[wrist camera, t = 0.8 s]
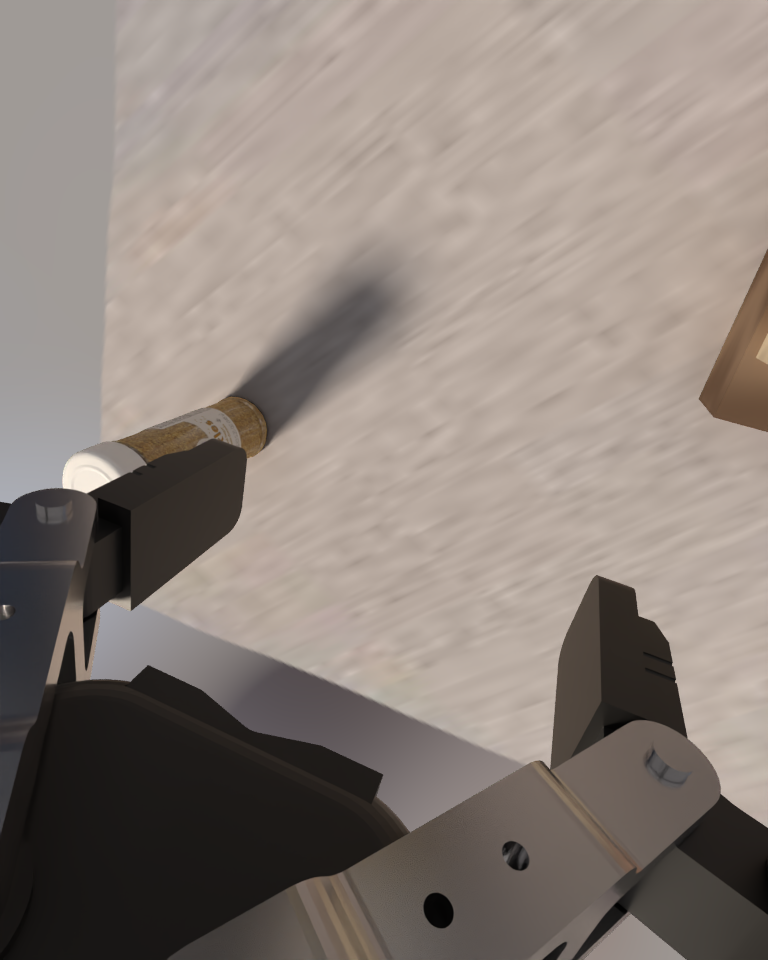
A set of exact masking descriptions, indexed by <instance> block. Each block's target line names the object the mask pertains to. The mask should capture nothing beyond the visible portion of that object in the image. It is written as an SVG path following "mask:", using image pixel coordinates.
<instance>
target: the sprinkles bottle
mask: <svg viewBox="0 0 768 960" xmlns="http://www.w3.org/2000/svg"><path fill="white" fill-rule="evenodd" d="M266 436H267V428H266V422H265V420H264V417H263V415H262V414H261V412H260V411H259V410H258V409H257V407H256V406H255V405H254V404H252V403H250V402H249V401H248V400H245V399H243V398H239V397H228V398H226V399H223V400H221V401H219V402H218V403H216V404H214V405H211V406H208V407H206V408H201V409H198V410H195V411H192V412H190V413H187V414H185V415H182V416H179V417H177V418H174V419H172V420H169V421H166V422H163V423H161V424H158V425H155V426H153V427H150V428H147V429H145V430H143V431H141V432H140V433H137V434H134V435H132V436H129V437H126V438H124V439H121V440H118V441H111V442H103V443H100V444H97V445H95V446H92V447H89V448H87V449H84V450H82V451H80V452H77V453H76V454H74V455H73V456H72V457H71V458H70V459H69V460H68V461H67V463H66V465H65V468H64V471H63V488H64V489H73V490H77V491H81V492H84V493H88V492H90V491H92V490H94V489H96V488H98V487H100V486H102V485H104V484H106V483H108V482H110V481H113V480H115V479H117V478H119V477H121V476H123V475H125V474H127V473H129V472H131V473H132V472H133V470H135V469H137V468H139V467H141V466H143V465H145V466H146V465H147V463H149V462H151V461H153V460H155V459H157V458H159V457H161V456H163V455H166V454H171V453H176V452H181V451H185V450H187V451H188V450H190V449H192V448H194V447H196V446H198V445H200V444H202V443H204V442H206V441H208V440H210V439H218V440H221V441H224V442H226V443H229V444H232V445H235V446H238V447H240V448H243V449H244V450H245V451H246V455H247V458H250V457H253V456H255V455H256V454H257V453H259V452H260V451H261V450H262V448H263V447H264V445H265V442H266Z"/></svg>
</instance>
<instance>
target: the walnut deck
mask: <svg viewBox="0 0 768 960" xmlns="http://www.w3.org/2000/svg"><path fill="white" fill-rule="evenodd" d="M767 334H768V250H767V252H766V254H765V256H764V258H763V261H762V263H761V265H760V267H759V269H758V271H757V274H756V276H755V278H754V280H753V282H752V284H751V287H750V289H749V291H748V293H747V295H746V297H745V300H744V302H743V304H742V306H741V308H740V311H739V313H738V315H737V317H736V319H735V321H734V324H733V326H732V328H731V330H730V332H729V334H728V337H727V339H726V341H725V343H724V345H723V347H722V350H721V352H720V354H719V356H718V358H717V360H716V363H715V365H714V367H713V369H712V371H711V374H710V376H709V378H708V380H707V382H706V384H705V387H704V389H703V391H702V393H701V395H700V397H699V400H700V401H701V402H702V403H703V405H704V406H705V407H706V408H707V410H708V411H709V412H710V413H711V414H712V416H713V417H715V418H718V419H722V420H726V421H729V422H733V423H737V424H740V425H744V426H748V427H751V428H755V429H759V430H762V431H766V432H768V364H766V363H764V362H762V361H761V360H759V359H757V358H756V356H757V354H758V352H759V350H760V348H761V346H762V344H763V342H764V340H765V338H766V336H767Z"/></svg>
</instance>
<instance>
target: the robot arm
mask: <svg viewBox="0 0 768 960" xmlns="http://www.w3.org/2000/svg"><path fill="white" fill-rule="evenodd" d="M246 464H247V455H246V451H245V450H244V449H243V448H240V447H238V446H235V445H232V444H229V443H226V442H224V441H221V440H218V439H210V440H208V441H206V442H204V443H202V444H200V445H198V446H196V447H194V448H192V449H190V450H188V451H187V450H185V451H181V452H176V453H171V454H166V455H163V456H161V457H159V458H157V459H155V460H153V461H151V462H149V463H147V465H146V466H145V465H143V466H141V467H139V468H137V469H135V470H133V472H132V473H131V472H129V473H127V474H125V475H123V476H121V477H119V478H117V479H115V480H113V481H110V482H108V483H106V484H104V485H102V486H100V487H98V488H96V489H94V490H92V491H90V492H88V493H84V492H81V491H77V490H73V489H64V488H54V489H44V490H38V491H35V492H31V493H28V494H25V495H23V496H21V497H19V498H18V499H16V500H15V501H14V502H13V503H12V504H10V503H4V502H0V960H584V959H585V958H586V957H587V956H588V955H589V954H590V953H591V952H592V951H593V950H594V949H595V948H596V947H597V946H598V945H599V944H600V943H601V942H602V941H603V940H604V939H605V938H606V937H607V936H608V935H610V934H611V933H612V932H613V931H614V930H615V929H616V928H617V927H618V926H619V925H620V924H621V923H622V922H623V921H624V920H625V919H626V918H627V917H628V916H629V915H630V914H632V915H633V916H635V917H636V918H637V919H638V920H639V921H641V922H642V923H643V924H644V925H645V926H647V927H648V928H649V929H650V930H651V931H653V932H654V933H655V934H656V935H657V936H659V937H660V938H661V939H662V940H663V941H665V942H666V943H667V944H668V945H670V946H671V947H672V948H673V949H674V950H676V951H677V952H678V953H679V954H681V955H682V956H683V957H684V958H685V959H687V960H768V828H767V827H766V826H764V825H763V824H761V823H760V822H758V821H757V820H755V819H754V818H752V817H751V816H749V815H748V814H746V813H745V812H743V811H742V810H740V809H739V808H738V807H736V806H735V805H733V804H732V803H731V802H730V801H728V800H727V799H726V798H725V797H724V796H722V795H721V794H720V793H721V787H720V781H719V778H718V776H717V773H716V771H715V769H714V768H713V766H712V764H711V763H710V761H709V760H708V759H707V757H706V756H705V755H704V754H703V753H702V752H701V750H700V749H699V748H697V747H696V746H695V745H694V744H693V743H692V742H691V741H690V740H688V739H687V733H686V728H685V723H684V718H683V713H682V708H681V703H680V698H679V692H678V687H677V683H675V680H676V677H675V672H674V667H673V666H672V663H673V662H672V657H671V651H670V646H669V642H668V641H667V640H666V638H665V637H664V635H663V634H662V632H661V631H660V629H659V628H658V626H657V625H656V624H655V622H653V621H650V620H648V619H645V618H642V617H639V616H638V609H637V601H636V593H635V589H634V588H632V587H629V586H626V585H623V584H620V583H618V582H615V581H612V580H609V579H606V578H604V577H601V576H598V575H596V576H595V577H594V578H593V579H592V581H591V583H590V585H589V587H588V589H587V591H586V593H585V595H584V597H583V600H582V602H581V604H580V606H579V608H578V610H577V612H576V615H575V617H574V619H573V621H572V623H571V625H570V627H569V630H568V632H567V634H566V637H565V639H564V642H563V645H562V649H561V652H560V657H559V663H558V676H557V689H556V702H555V715H554V728H553V741H552V754H551V767H550V769H549V768H548V767H547V766H546V765H545V763H544V762H542V761H534V762H531V763H529V764H527V765H525V766H524V767H522V768H520V769H519V770H517V771H515V772H513V773H512V774H510V775H508V776H506V777H505V778H503V779H502V780H500V781H498V782H496V783H494V784H493V785H491V786H489V787H488V788H486V789H484V790H483V791H481V792H479V793H478V794H476V795H474V796H472V797H471V798H469V799H467V800H465V801H463V802H462V803H460V804H458V805H457V806H455V807H453V808H451V809H450V810H448V811H446V812H445V813H443V814H441V815H439V816H438V817H436V818H434V819H433V820H431V821H429V822H427V823H426V824H424V825H422V826H421V827H419V828H417V829H415V830H414V831H412V832H409V831H408V829H407V828H406V827H405V825H404V824H403V823H402V821H401V820H400V819H399V818H398V817H397V816H396V814H395V813H393V811H392V810H391V809H390V808H389V807H388V806H387V805H386V804H384V803H383V802H382V801H381V800H380V799H379V798H377V797H376V796H377V793H378V789H379V786H380V783H381V780H382V777H383V774H381V773H378V772H377V771H374V770H372V769H370V768H368V767H366V766H364V765H362V764H359V763H357V762H355V761H353V760H351V759H349V758H346V757H344V756H342V755H340V754H338V753H336V752H333V751H331V750H329V749H327V748H325V747H323V746H320V745H315V744H311V743H306V742H301V741H296V740H291V739H286V738H282V737H277V736H271V735H267V734H262V733H257V732H254V731H251V730H249V729H248V728H246V727H245V726H244V725H242V724H241V723H240V722H239V721H238V720H236V719H235V718H234V717H233V716H232V715H230V714H229V713H228V712H227V711H226V710H225V709H223V708H222V707H221V706H220V705H219V704H218V703H216V702H215V701H214V700H213V699H212V698H210V697H209V696H208V695H207V694H206V693H204V692H203V691H202V690H200V689H198V688H196V687H194V686H192V685H190V684H187V683H185V682H183V681H181V680H179V679H177V678H175V677H173V676H170V675H168V674H166V673H164V672H162V671H160V670H158V669H155V668H153V667H151V666H149V665H148V666H147V667H146V668H145V669H143V670H142V671H141V673H139V674H138V675H137V676H136V677H135V678H134V679H133V680H132V681H131V682H128V681H121V680H109V679H104V680H103V679H102V680H101V679H99V680H90V677H91V671H92V664H93V659H94V653H95V647H96V641H97V634H98V628H99V622H100V607H101V606H103V605H104V604H105V603H107V602H108V601H109V602H111V603H114V604H116V605H118V606H120V607H122V608H125V609H127V610H129V611H131V610H133V609H134V608H135V607H137V606H138V605H139V604H140V603H142V602H143V601H144V600H145V599H147V598H148V597H149V596H150V595H152V594H153V593H154V592H155V591H157V590H158V589H159V588H160V587H162V586H163V585H164V584H165V583H167V582H168V581H169V580H170V579H172V578H173V577H174V576H175V575H177V574H178V573H179V572H180V571H182V570H183V569H184V568H185V567H187V566H188V565H189V564H190V563H192V562H193V561H194V560H195V559H197V558H198V557H199V556H200V555H202V554H203V553H204V552H205V551H207V550H208V549H209V548H210V547H212V546H213V545H214V544H215V543H217V542H218V541H219V540H220V539H222V538H223V537H224V536H225V535H227V534H228V533H229V532H230V531H231V530H232V529H233V528H234V526H235V524H236V523H237V521H238V519H239V516H240V513H241V509H242V501H243V492H244V482H245V473H246Z"/></svg>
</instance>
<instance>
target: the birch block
mask: <svg viewBox="0 0 768 960" xmlns="http://www.w3.org/2000/svg"><path fill="white" fill-rule="evenodd" d="M756 358H757V359H759V360H761V361H762V362H764V363H766V364H768V334H767V336H766V338H765V340H764V342H763V344H762V346H761V348H760V350H759V352H758V354H757V356H756Z"/></svg>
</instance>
